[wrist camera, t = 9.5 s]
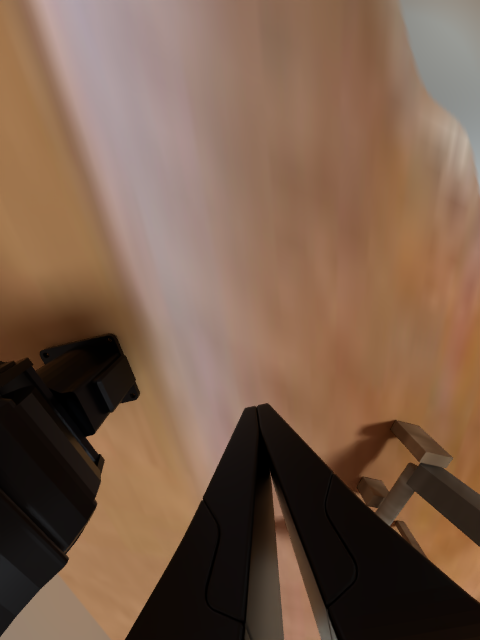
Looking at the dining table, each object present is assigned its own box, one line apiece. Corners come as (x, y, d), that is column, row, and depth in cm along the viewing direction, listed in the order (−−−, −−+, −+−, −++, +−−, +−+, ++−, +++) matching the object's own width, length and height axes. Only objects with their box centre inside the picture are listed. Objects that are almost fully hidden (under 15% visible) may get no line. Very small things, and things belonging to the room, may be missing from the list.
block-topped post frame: (345, 550, 24) (547, 813, 14) (413, 447, 20) (768, 708, 10) (358, 535, 26) (546, 759, 16) (423, 439, 22) (731, 652, 12)
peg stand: (328, 511, 27) (346, 561, 23) (383, 417, 23) (418, 455, 19) (402, 525, 28) (432, 574, 24) (466, 437, 24) (516, 478, 20)
